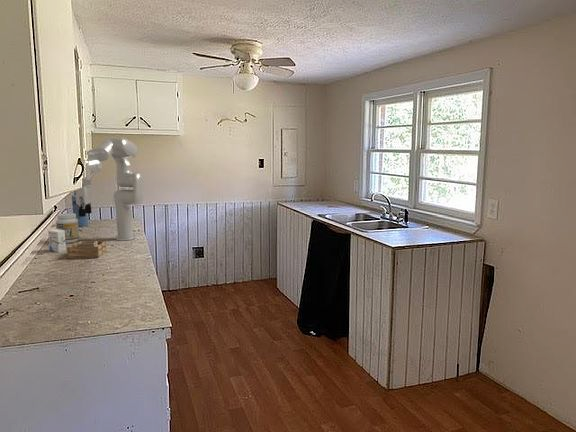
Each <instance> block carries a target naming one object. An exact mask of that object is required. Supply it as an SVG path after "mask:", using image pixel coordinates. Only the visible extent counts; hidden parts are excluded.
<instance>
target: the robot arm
mask: <svg viewBox="0 0 576 432" xmlns="http://www.w3.org/2000/svg"><path fill="white" fill-rule="evenodd" d="M138 150H139V149H138V147H137V145H136V144H135V143H133V142H132V141H130V140H129V139H127V138H125V137H107V138H105V139H104V140H103V141H102V142H101V143H100V144H99V145H98V146H96V147H95V148H92V149H90V150H87V151H86V152H87V155H88V159H87V160H86V177H85V178H84V179H83V183H82V188H80V189H78V190H76V204H77V205H78V209H79V217H85V216H86V213H88V214H92V213H93V211H92V204H91V203H92V194H91V186H92V182H91V181H92V180H91V174H92V173H93V174H95V173H98V172H100V171H101V170H102V167H103V164H102V162H104V161H105V162H106V160H108V159H110V157H111V158H113V160H114V162H115V165H116V179H115V180H116V185H117V186H118V187H120V189H117V190H115V191H114V192H113V201H114V205H115V217H116V218H115V219H116V232H117V234H116V235H117V236H115V237H114V240H116V241H132V240H135V239H136V238H137V237H136V235H134V223H133V222H134V221H133V210H132V208H131V207H130V206H132V205H134V206H138V205H141V204H142V202H143V196H144V195H143V191H144V183H143V182H144V180H143V175H142V174H141V173H140V172H138V171H137V172H136V171H133V172H132V164H131V161H130V160H129V158H131V159H132V158H136V157H137V155H138V152H139V151H138ZM121 188H125V189H121ZM126 188H127V189H126ZM129 188H132V189H129ZM82 205H83V206H82ZM84 208H85V209H84Z"/></svg>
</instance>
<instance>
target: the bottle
mask: <svg viewBox="0 0 576 432" xmlns="http://www.w3.org/2000/svg"><path fill="white" fill-rule="evenodd" d="M71 203H72V213H74V214H76V218H77V219H78V228H83V226H85V227H88V226H89V213H86V216H85V217H79V209H78V205H77V204H76V191H74V190H73V195H71ZM82 206H83V205H82ZM84 209H85V208H84Z"/></svg>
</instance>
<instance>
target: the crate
mask: <svg viewBox="0 0 576 432" xmlns="http://www.w3.org/2000/svg"><path fill="white" fill-rule="evenodd" d="M96 241H97V243H98V246H97V247H77V245H76V244H77V243H78V242H79V241H76V242H73V243H72V244H70V245H69V246H67V247H66V251H67V252H66V253H67V259H69V260H70V259H71V260H72V259H99V258H101V256H103V255H104V254H105V253H106V252H107V240H101V241H100V240H96ZM77 251H96V252H77Z"/></svg>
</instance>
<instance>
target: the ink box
mask: <svg viewBox="0 0 576 432" xmlns="http://www.w3.org/2000/svg"><path fill="white" fill-rule="evenodd" d="M47 236H48V250H49V251H50V252H55V253H62V252H65V251H67V247H66V246H67V245H66V244H67V243H65V231H64V230H59V229H57V228H54V229H50V230H48V231H47Z"/></svg>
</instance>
